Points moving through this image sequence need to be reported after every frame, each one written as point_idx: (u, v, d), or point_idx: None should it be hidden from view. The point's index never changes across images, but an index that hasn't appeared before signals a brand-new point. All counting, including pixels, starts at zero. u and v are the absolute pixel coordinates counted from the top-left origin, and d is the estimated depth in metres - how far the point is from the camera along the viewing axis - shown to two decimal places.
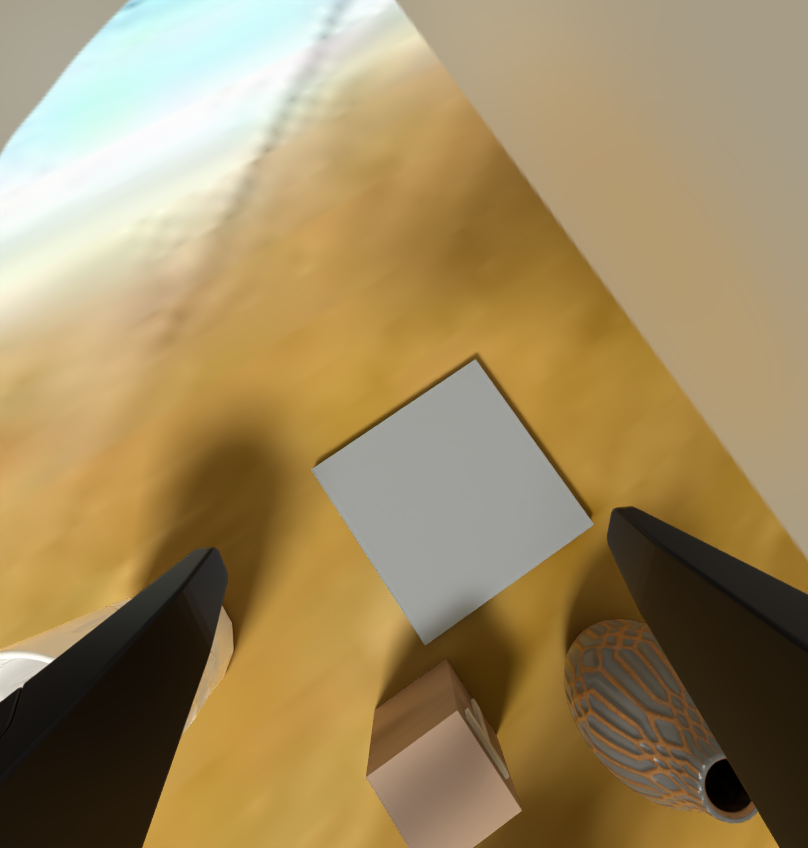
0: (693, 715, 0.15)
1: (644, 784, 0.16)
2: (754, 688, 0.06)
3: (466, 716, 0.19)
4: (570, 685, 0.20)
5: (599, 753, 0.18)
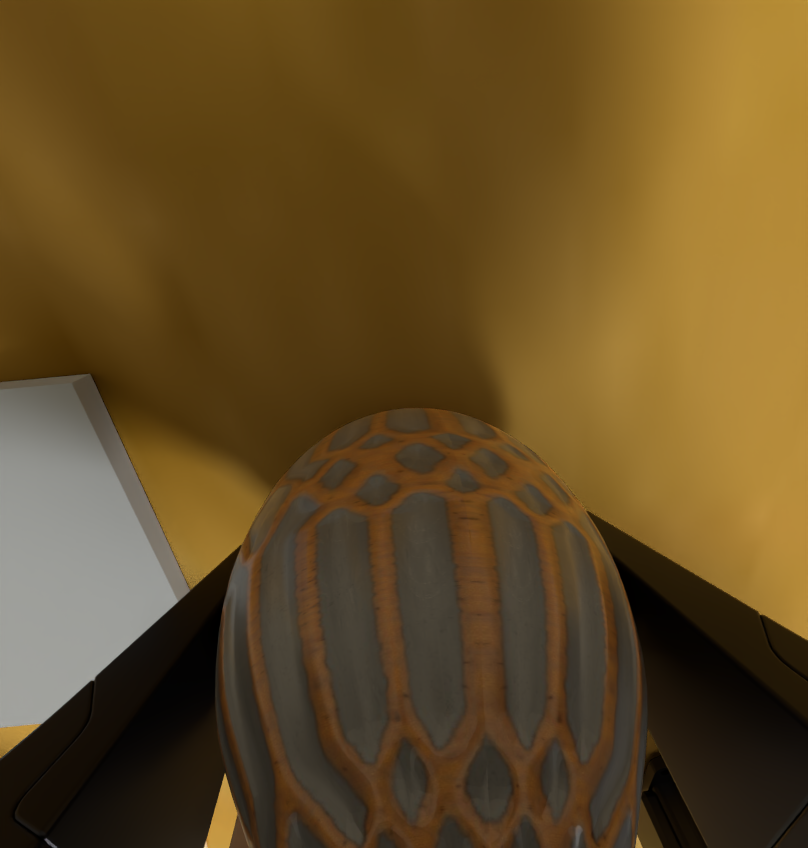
0: None
1: None
2: (686, 695, 0.06)
3: None
4: None
5: None
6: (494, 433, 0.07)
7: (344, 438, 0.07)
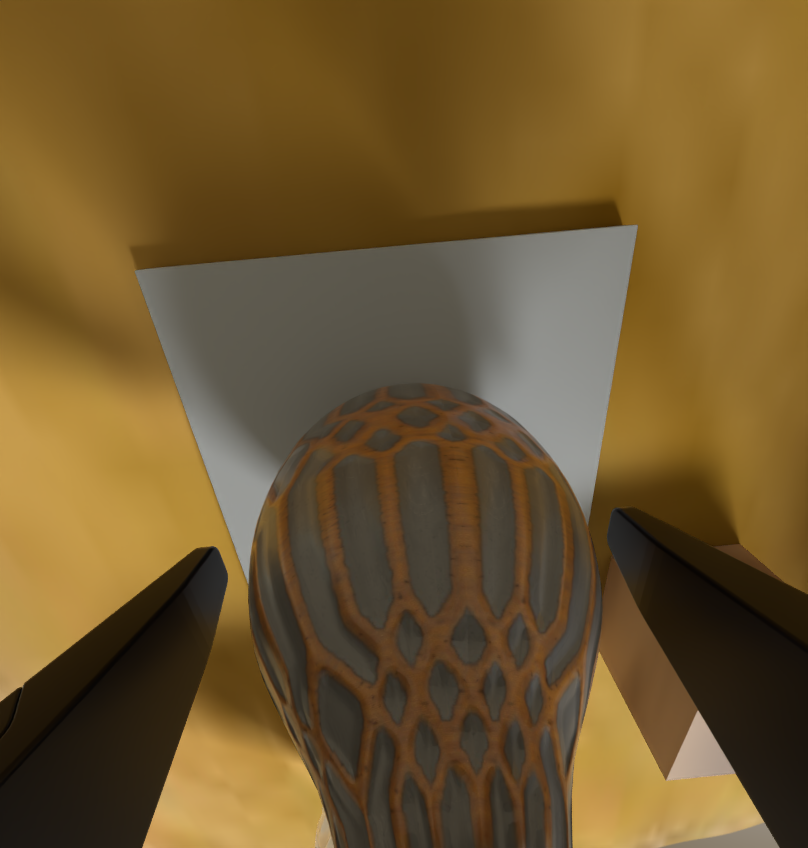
0: (315, 750, 0.05)
1: None
2: (754, 688, 0.06)
3: None
4: None
5: None
6: (480, 401, 0.08)
7: (353, 405, 0.08)
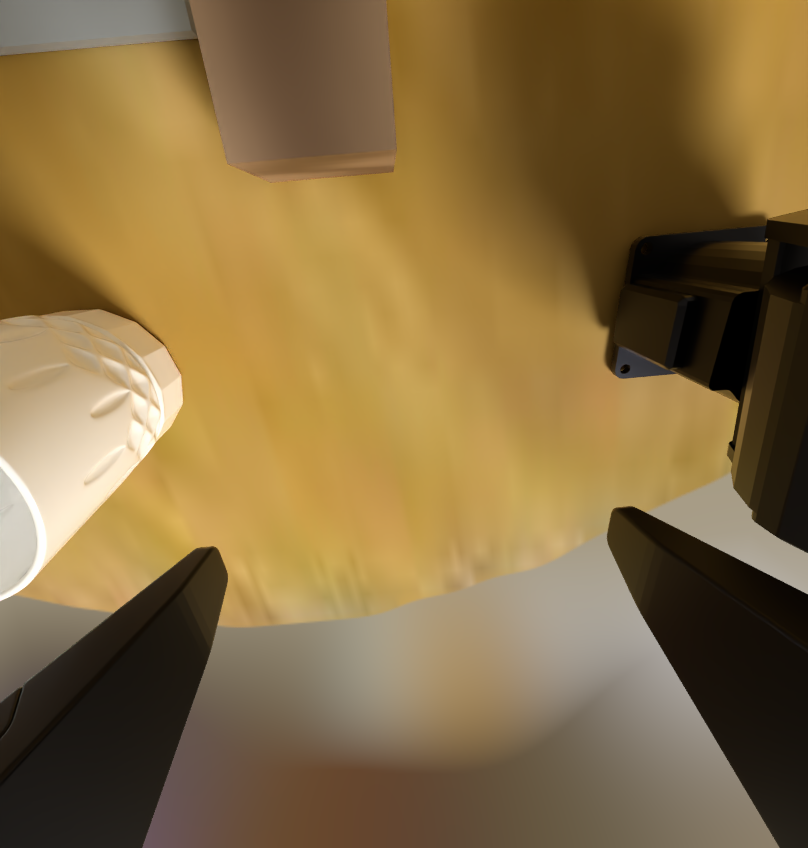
0: None
1: None
2: (754, 688, 0.06)
3: None
4: None
5: None
6: None
7: None
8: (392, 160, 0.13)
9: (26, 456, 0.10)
